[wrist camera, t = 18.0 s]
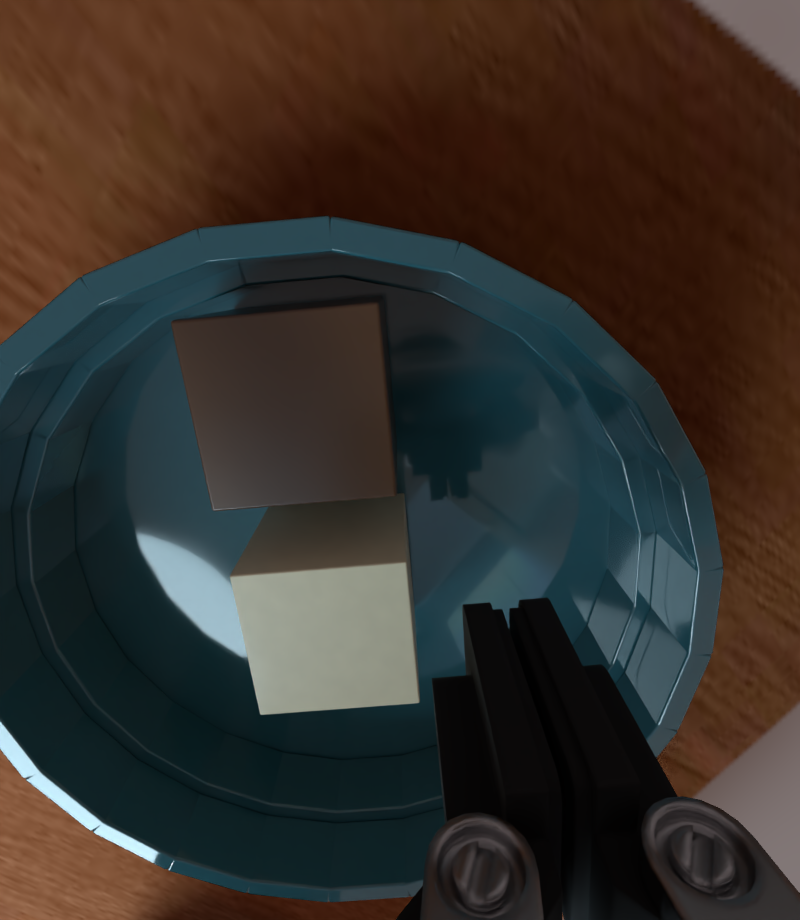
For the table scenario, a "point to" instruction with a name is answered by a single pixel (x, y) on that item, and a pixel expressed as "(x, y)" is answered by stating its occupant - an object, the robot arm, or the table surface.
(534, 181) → the table surface
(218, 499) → the walnut block
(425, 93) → the table surface
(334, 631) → the cream block
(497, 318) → the bowl
